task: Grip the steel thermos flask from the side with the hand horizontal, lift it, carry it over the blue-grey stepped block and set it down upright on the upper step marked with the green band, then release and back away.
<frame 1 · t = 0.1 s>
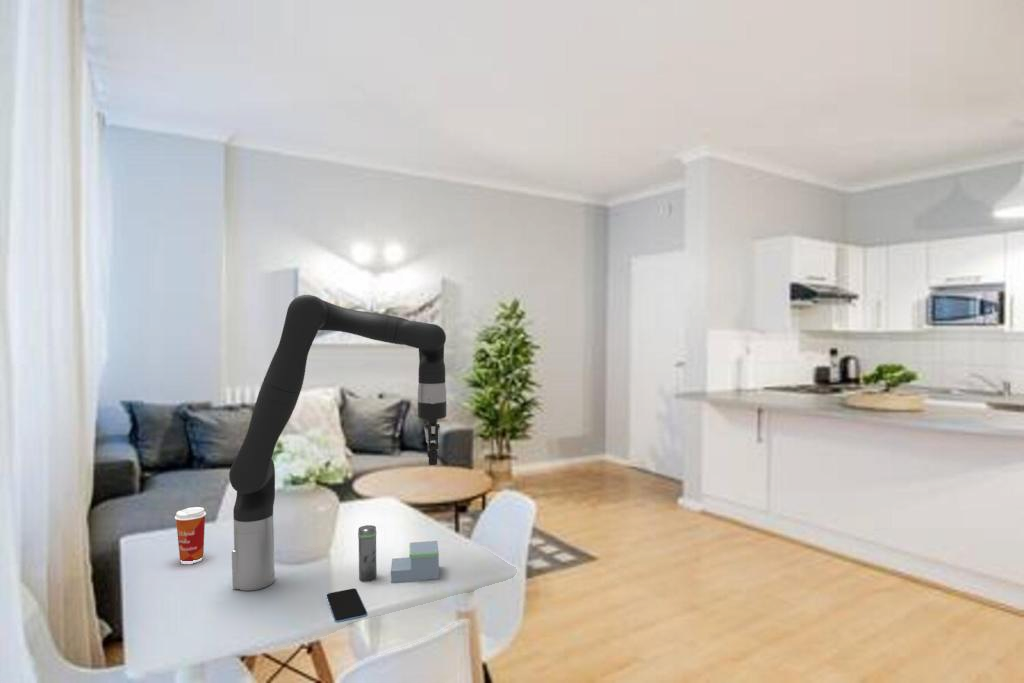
hand: (432, 460, 158), 29 cm above the table, tool pointing down, fingers open, 8 cm apart
steel thermos flask: (367, 577, 154), on the table
paper cup: (192, 561, 165), on the table
blue-grey stepped block: (418, 574, 156), on the table
smartphone: (346, 607, 139), on the table
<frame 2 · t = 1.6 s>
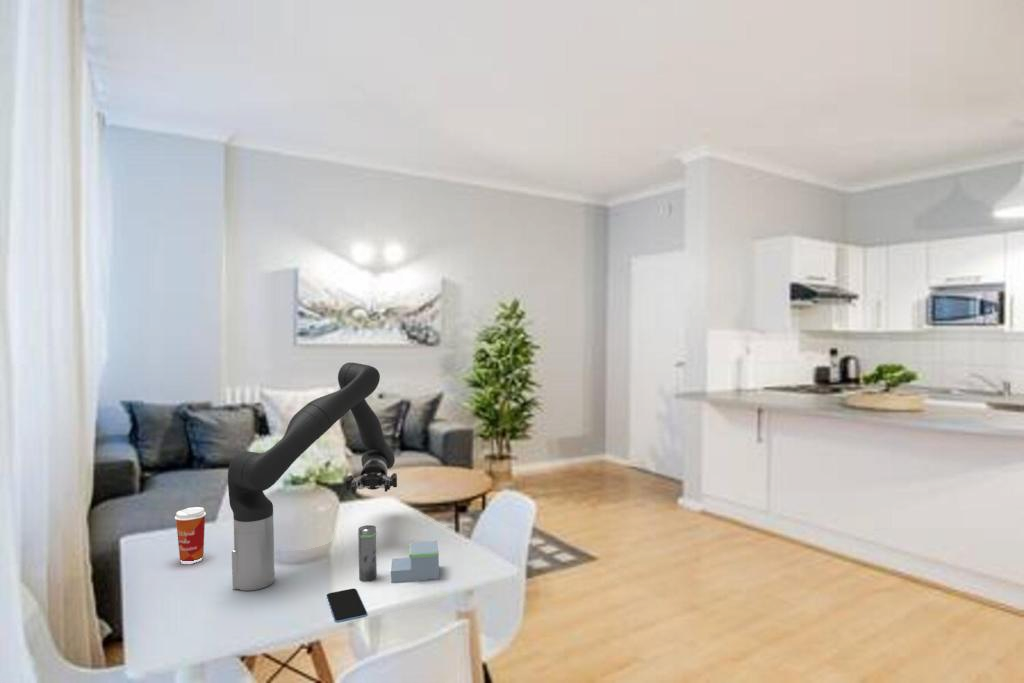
hand: (370, 488, 164), 20 cm above the table, tool horizontal, fingers open, 8 cm apart
nothing on the table moved.
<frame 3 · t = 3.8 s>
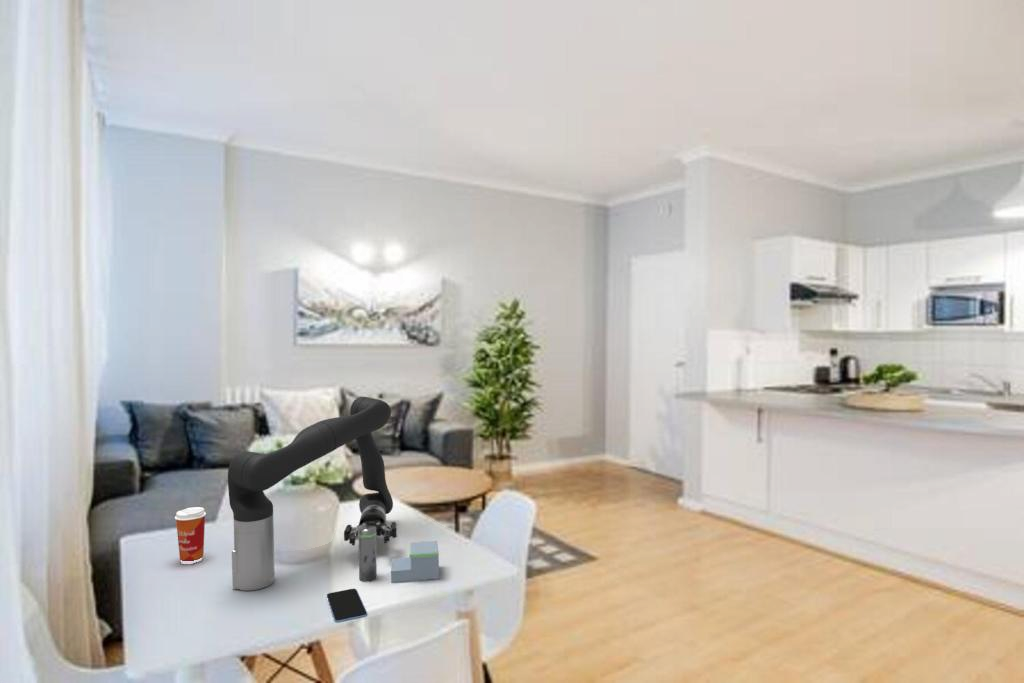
hand: (369, 540, 161), 7 cm above the table, tool horizontal, fingers open, 8 cm apart
nothing on the table moved.
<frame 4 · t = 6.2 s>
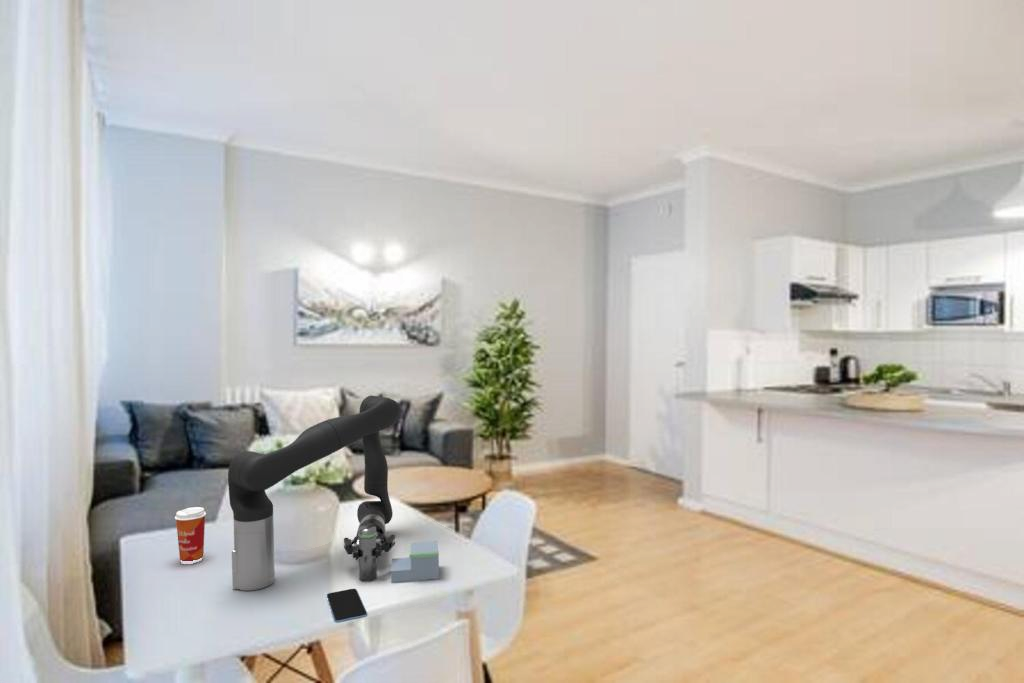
hand: (367, 555, 151), 7 cm above the table, tool horizontal, fingers closed on steel thermos flask, 4 cm apart
steel thermos flask: (368, 577, 154), on the table, touching gripper
everything else where it was.
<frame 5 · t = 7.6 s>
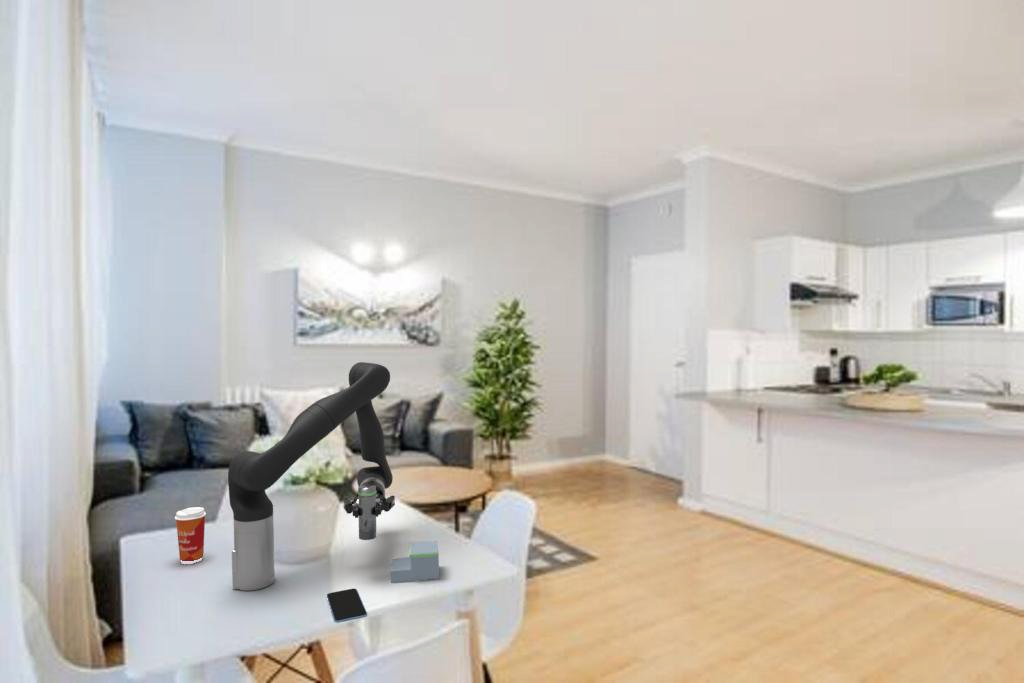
hand: (366, 513, 150), 18 cm above the table, tool horizontal, fingers closed on steel thermos flask, 4 cm apart
steel thermos flask: (367, 536, 153), point 11 cm above the table, touching gripper
everything else where it was.
when the fingers open (15 cm above the table, at t = 9.4 s): steel thermos flask stays where it is, resting on blue-grey stepped block.
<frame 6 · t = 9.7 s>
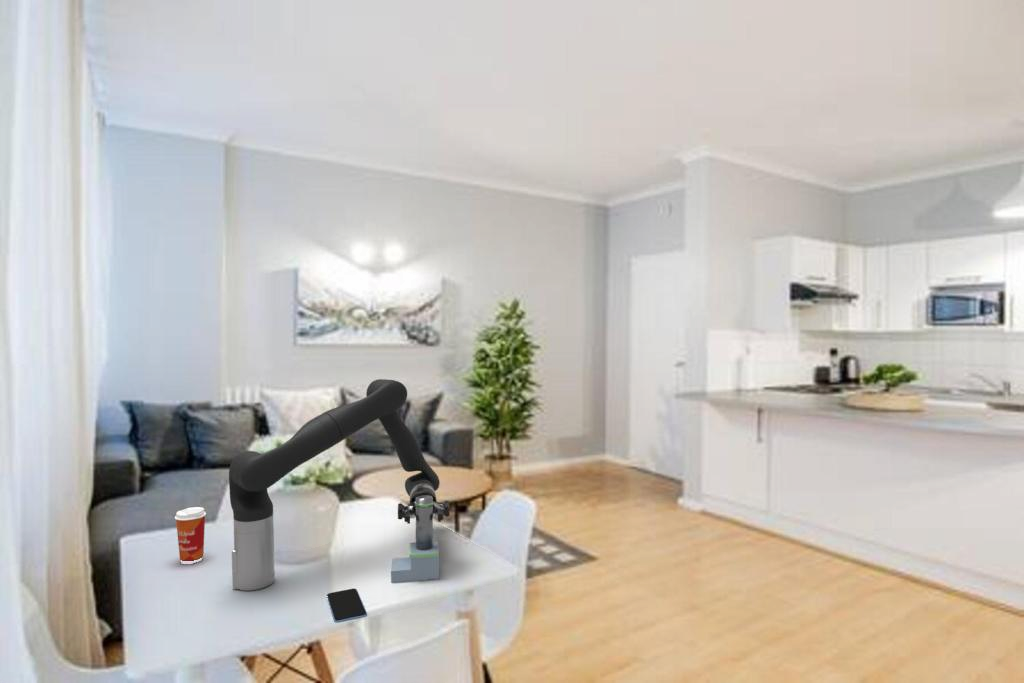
hand: (424, 518, 153), 15 cm above the table, tool horizontal, fingers open, 7 cm apart
steel thermos flask: (424, 546, 156), point 7 cm above the table, touching blue-grey stepped block
everything else where it was.
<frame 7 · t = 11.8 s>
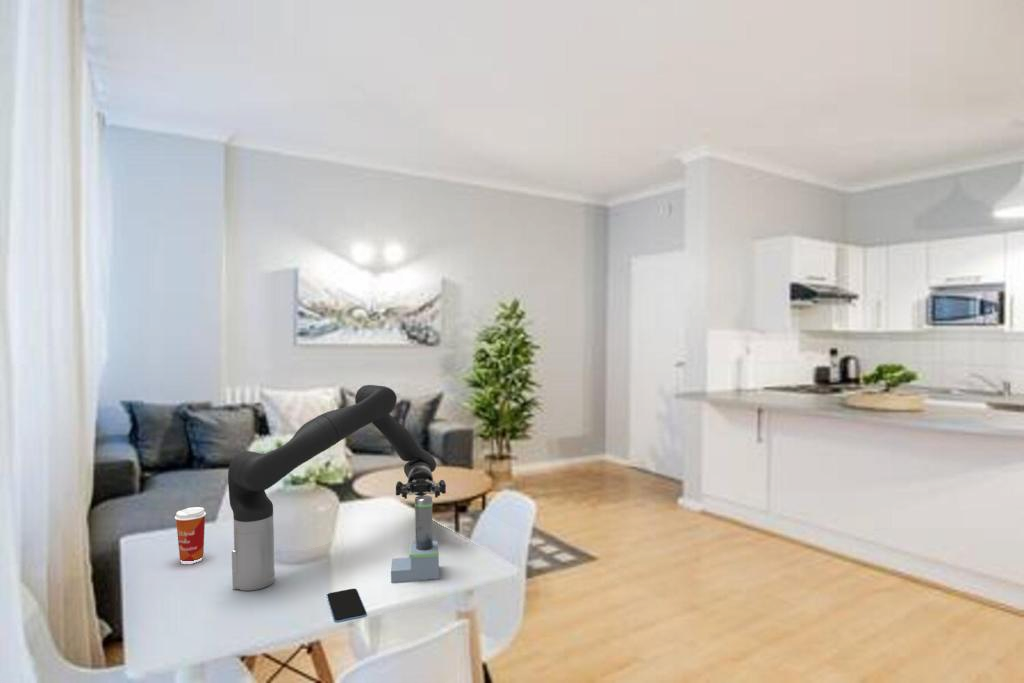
hand: (421, 494, 167), 18 cm above the table, tool horizontal, fingers open, 8 cm apart
nothing on the table moved.
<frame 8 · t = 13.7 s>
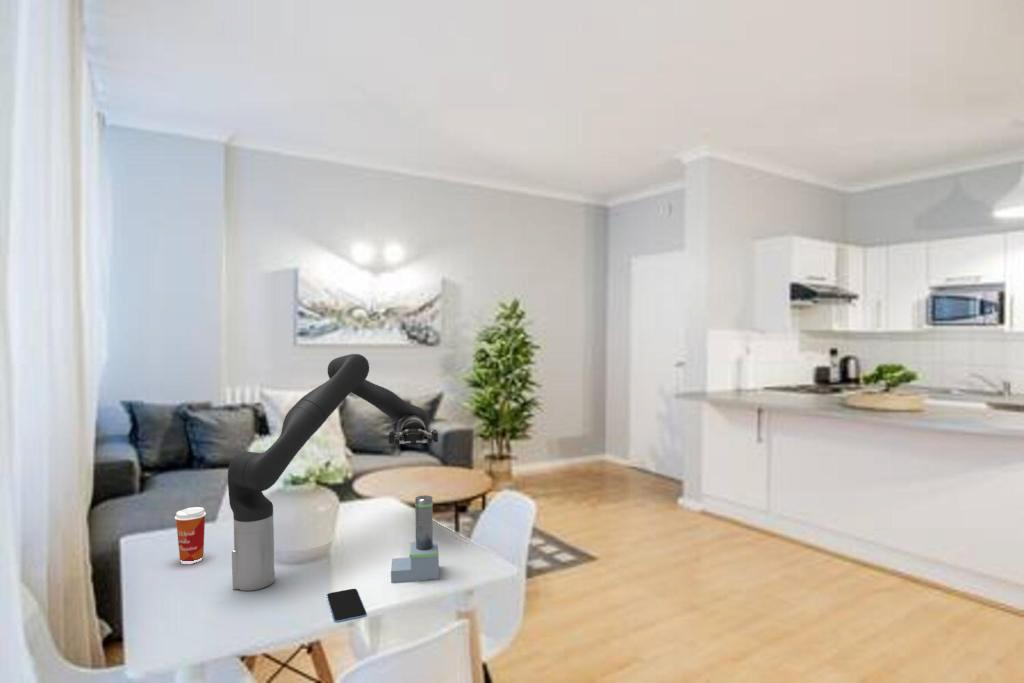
hand: (413, 441, 168), 32 cm above the table, tool horizontal, fingers open, 8 cm apart
nothing on the table moved.
at the end: steel thermos flask inside the target area on the blue-grey stepped block (0.1 cm from its centre), point 7.0 cm above the blue-grey stepped block's base; steel thermos flask tilted 1°; the gripper is holding nothing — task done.
